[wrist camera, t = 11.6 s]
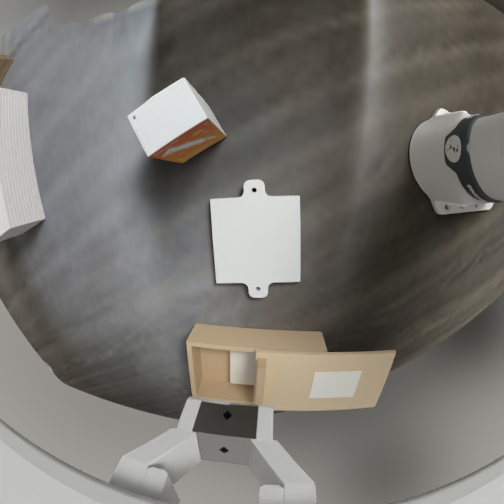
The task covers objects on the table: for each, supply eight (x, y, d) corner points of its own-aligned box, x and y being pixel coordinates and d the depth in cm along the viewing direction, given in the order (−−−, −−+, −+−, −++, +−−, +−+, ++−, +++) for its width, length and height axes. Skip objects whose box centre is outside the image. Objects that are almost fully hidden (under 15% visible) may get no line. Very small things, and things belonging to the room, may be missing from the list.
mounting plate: (211, 182, 40) (209, 182, 39) (297, 178, 39) (299, 178, 38) (219, 293, 45) (217, 297, 43) (298, 292, 44) (299, 296, 42)
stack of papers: (46, 218, 44) (9, 228, 34) (22, 234, 46) (-10, 244, 35) (27, 93, 37) (-4, 86, 27) (5, 116, 38) (-25, 114, 28)
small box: (183, 164, 40) (146, 158, 27) (165, 132, 38) (124, 116, 26) (228, 137, 38) (208, 117, 26) (208, 104, 37) (183, 75, 24)
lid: (394, 349, 38) (401, 361, 35) (373, 404, 41) (378, 416, 38) (256, 349, 39) (255, 362, 36) (252, 406, 43) (251, 419, 40)
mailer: (321, 331, 45) (327, 350, 39) (310, 385, 48) (313, 406, 42) (195, 323, 46) (186, 341, 40) (199, 378, 50) (192, 397, 44)
